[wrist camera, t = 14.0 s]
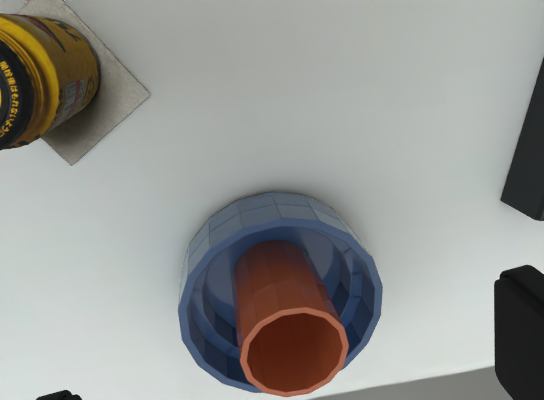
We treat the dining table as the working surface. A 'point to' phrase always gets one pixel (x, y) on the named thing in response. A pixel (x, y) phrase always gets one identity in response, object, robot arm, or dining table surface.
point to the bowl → (244, 235)
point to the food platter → (529, 160)
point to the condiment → (59, 81)
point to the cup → (285, 321)
